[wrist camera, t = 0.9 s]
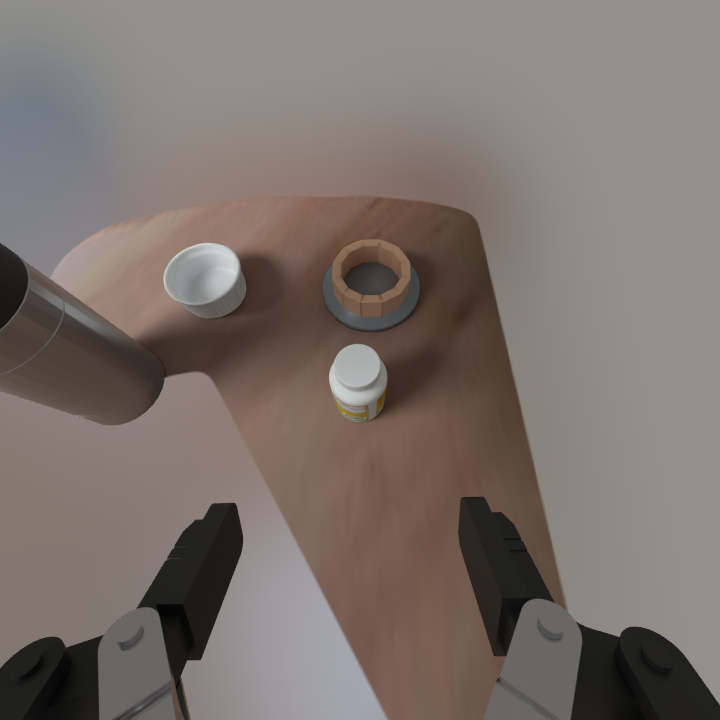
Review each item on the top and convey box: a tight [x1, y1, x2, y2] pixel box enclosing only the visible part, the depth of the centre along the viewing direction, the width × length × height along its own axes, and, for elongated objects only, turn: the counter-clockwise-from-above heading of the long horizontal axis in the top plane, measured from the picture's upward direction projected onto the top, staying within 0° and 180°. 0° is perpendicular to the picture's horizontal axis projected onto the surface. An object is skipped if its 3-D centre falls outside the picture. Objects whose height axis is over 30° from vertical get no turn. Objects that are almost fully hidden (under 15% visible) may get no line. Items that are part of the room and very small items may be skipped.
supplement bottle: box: [329, 344, 387, 422], centre depth 33 cm, size 5×5×10 cm
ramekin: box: [164, 243, 246, 319], centre depth 42 cm, size 9×9×4 cm
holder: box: [323, 239, 420, 332], centre depth 42 cm, size 12×12×4 cm
